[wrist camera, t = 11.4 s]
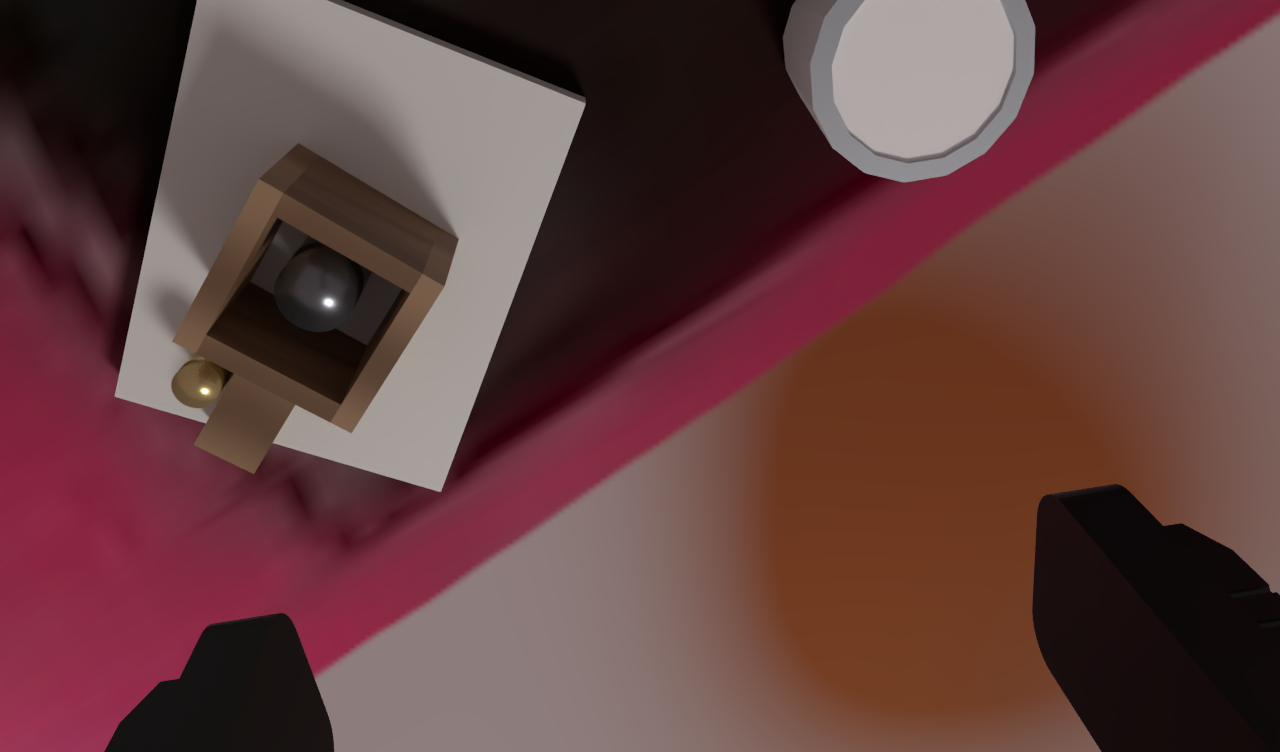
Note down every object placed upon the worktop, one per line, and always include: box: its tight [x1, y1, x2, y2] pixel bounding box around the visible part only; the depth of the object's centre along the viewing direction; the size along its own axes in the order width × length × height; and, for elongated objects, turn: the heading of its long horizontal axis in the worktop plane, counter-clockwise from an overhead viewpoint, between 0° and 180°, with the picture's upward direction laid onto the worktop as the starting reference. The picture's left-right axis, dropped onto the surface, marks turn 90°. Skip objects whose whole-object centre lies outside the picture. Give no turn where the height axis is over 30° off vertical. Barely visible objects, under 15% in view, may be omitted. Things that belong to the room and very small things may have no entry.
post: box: [274, 235, 372, 332], centre depth 34 cm, size 3×3×4 cm
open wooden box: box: [172, 143, 459, 474], centre depth 35 cm, size 12×6×5 cm, turn 146°
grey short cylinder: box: [783, 0, 1035, 182], centre depth 32 cm, size 7×7×7 cm
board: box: [115, 0, 586, 492], centre depth 37 cm, size 17×13×1 cm
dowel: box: [171, 353, 234, 408], centre depth 36 cm, size 2×2×2 cm
